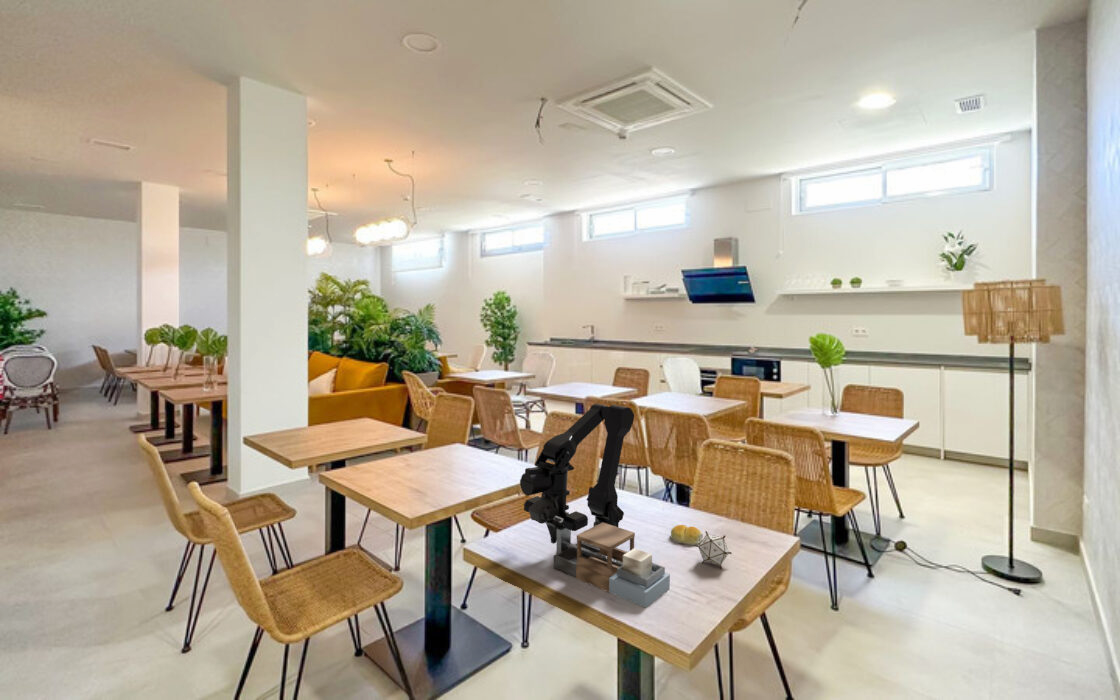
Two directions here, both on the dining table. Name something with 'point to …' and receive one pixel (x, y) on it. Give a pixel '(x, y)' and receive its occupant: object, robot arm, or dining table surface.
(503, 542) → the dining table surface
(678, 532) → the bread roll
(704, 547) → the game die
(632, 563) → the block
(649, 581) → the slider
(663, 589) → the pad
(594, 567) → the tunnel
